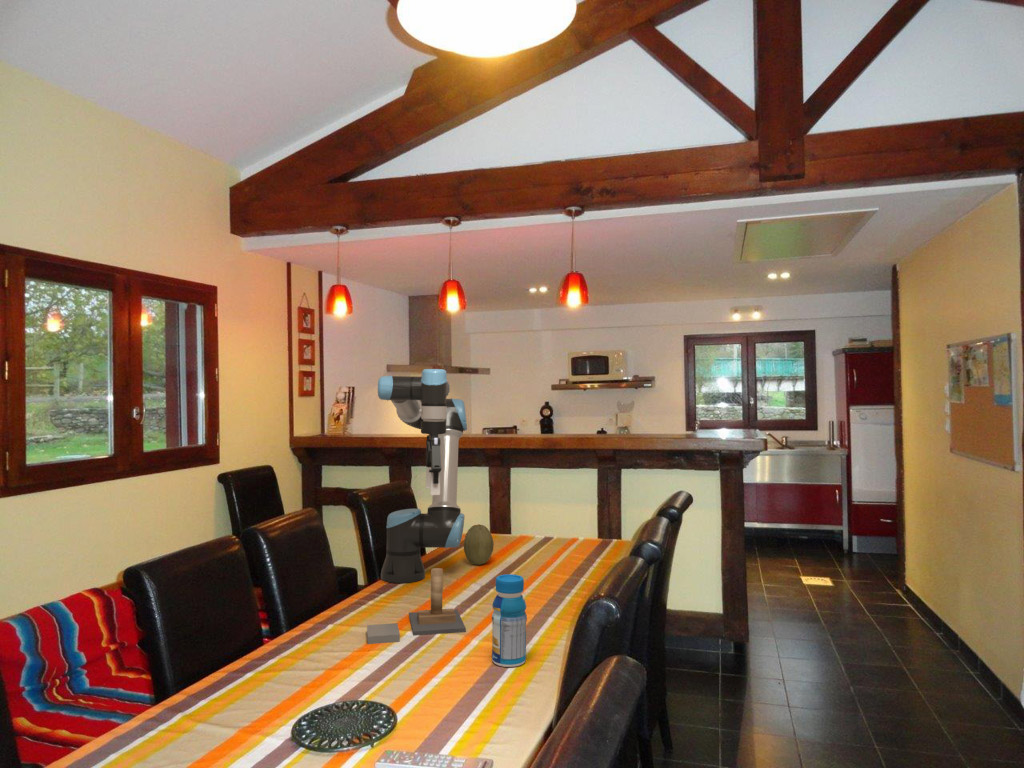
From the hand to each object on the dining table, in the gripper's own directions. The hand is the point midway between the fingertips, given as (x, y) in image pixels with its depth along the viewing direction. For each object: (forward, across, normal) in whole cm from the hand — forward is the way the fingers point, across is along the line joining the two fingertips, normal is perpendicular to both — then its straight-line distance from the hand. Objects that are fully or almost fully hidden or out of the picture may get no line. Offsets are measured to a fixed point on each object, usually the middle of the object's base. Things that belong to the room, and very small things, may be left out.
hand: (432, 491), depth 203 cm
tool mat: (+35, +14, 0) cm, 37 cm away
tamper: (+34, +14, 0) cm, 36 cm away
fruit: (+35, -50, +23) cm, 65 cm away
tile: (+34, +17, -15) cm, 41 cm away
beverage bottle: (+35, +44, +14) cm, 58 cm away
